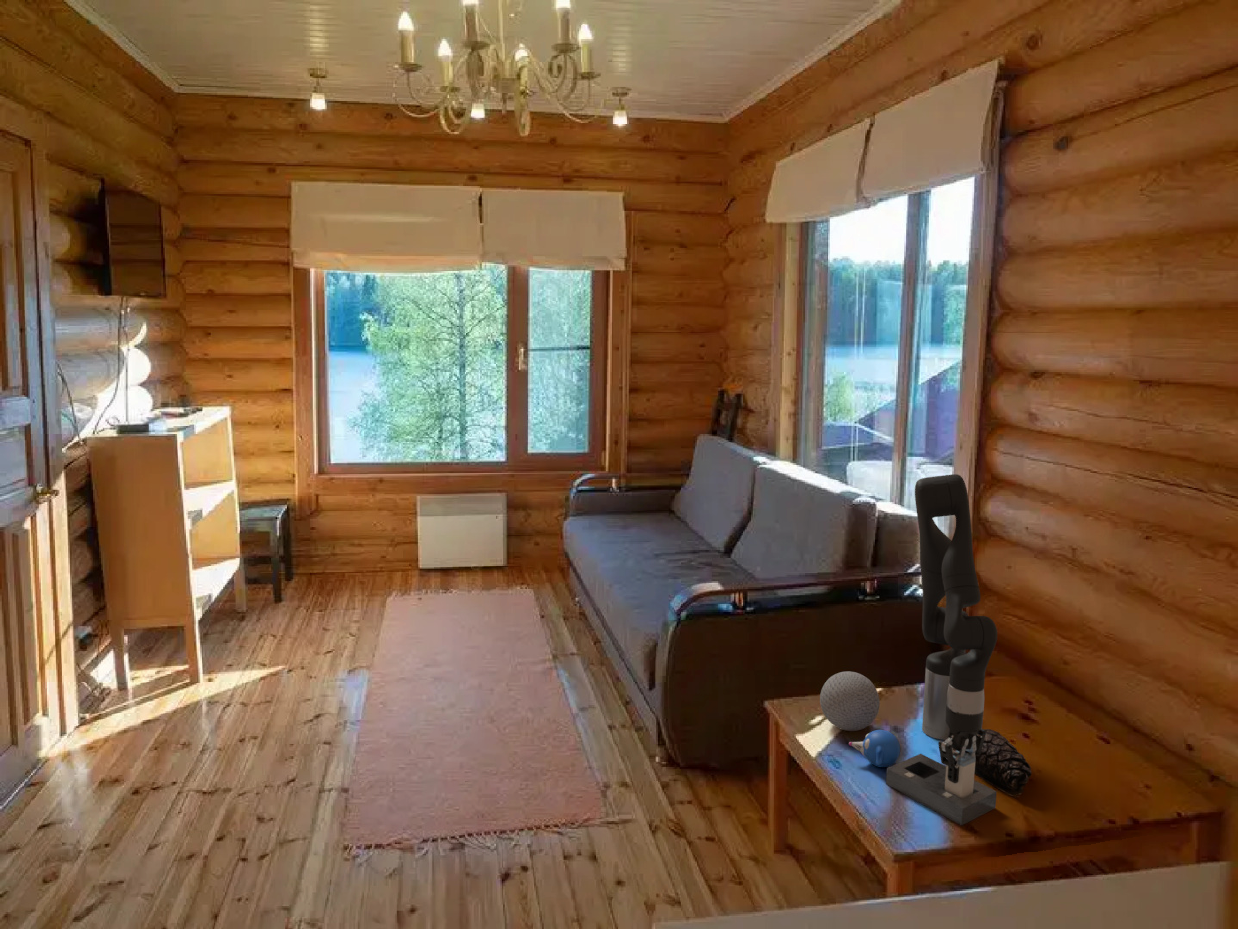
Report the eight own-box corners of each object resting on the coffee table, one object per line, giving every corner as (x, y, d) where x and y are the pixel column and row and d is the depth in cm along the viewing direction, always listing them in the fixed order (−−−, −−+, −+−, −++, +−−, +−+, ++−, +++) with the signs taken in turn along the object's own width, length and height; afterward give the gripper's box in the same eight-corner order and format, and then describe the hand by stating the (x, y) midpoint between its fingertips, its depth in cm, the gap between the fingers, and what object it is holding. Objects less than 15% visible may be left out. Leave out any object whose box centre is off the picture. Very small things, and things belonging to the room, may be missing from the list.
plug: (955, 791, 198) (959, 747, 197) (972, 799, 195) (975, 755, 193) (944, 796, 196) (947, 752, 194) (960, 805, 193) (963, 760, 191)
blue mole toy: (849, 748, 222) (851, 716, 220) (899, 755, 218) (901, 723, 217) (846, 771, 210) (847, 739, 209) (898, 780, 207) (900, 746, 205)
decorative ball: (881, 744, 224) (884, 688, 221) (820, 739, 226) (822, 683, 224) (875, 717, 238) (877, 664, 236) (817, 712, 241) (819, 660, 238)
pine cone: (1013, 802, 198) (1017, 760, 196) (955, 764, 214) (957, 726, 212) (1047, 792, 202) (1051, 751, 200) (987, 756, 218) (990, 718, 216)
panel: (919, 769, 212) (920, 752, 211) (995, 808, 195) (996, 790, 194) (886, 784, 205) (886, 767, 204) (961, 825, 189) (962, 807, 188)
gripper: (970, 691, 199) (965, 762, 202) (929, 706, 191) (924, 780, 194) (1000, 703, 193) (994, 776, 196) (959, 720, 185) (953, 795, 188)
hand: (959, 778), depth 195 cm, fingers closed on plug, 4 cm apart
